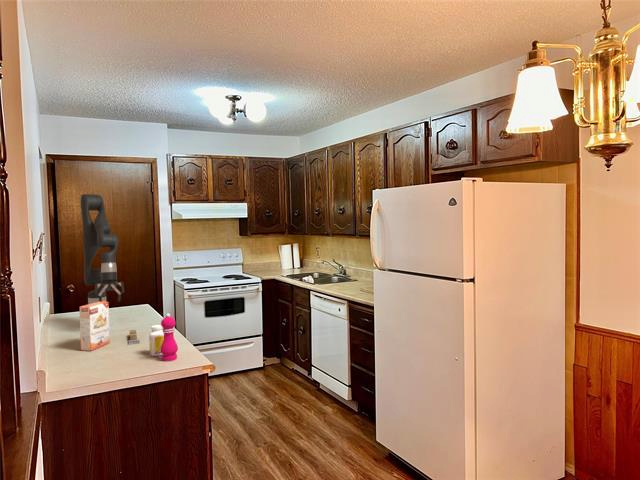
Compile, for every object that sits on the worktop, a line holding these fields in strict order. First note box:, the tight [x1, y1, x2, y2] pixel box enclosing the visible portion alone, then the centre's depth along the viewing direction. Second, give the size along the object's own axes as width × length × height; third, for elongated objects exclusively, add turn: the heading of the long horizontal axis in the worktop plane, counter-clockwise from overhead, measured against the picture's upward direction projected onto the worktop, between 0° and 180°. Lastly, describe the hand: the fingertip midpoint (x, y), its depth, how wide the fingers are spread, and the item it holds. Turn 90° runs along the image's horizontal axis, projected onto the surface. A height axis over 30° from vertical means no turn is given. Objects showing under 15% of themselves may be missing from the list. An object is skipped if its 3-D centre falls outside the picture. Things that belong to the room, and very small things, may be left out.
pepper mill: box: [160, 313, 179, 362], centre depth 206 cm, size 7×7×20 cm
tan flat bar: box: [128, 329, 140, 345], centre depth 239 cm, size 18×5×3 cm, turn 24°
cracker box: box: [79, 301, 111, 352], centre depth 227 cm, size 14×6×21 cm, turn 168°
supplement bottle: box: [148, 324, 164, 357], centre depth 213 cm, size 7×7×13 cm
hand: (110, 302), depth 250 cm, fingers open, 8 cm apart
